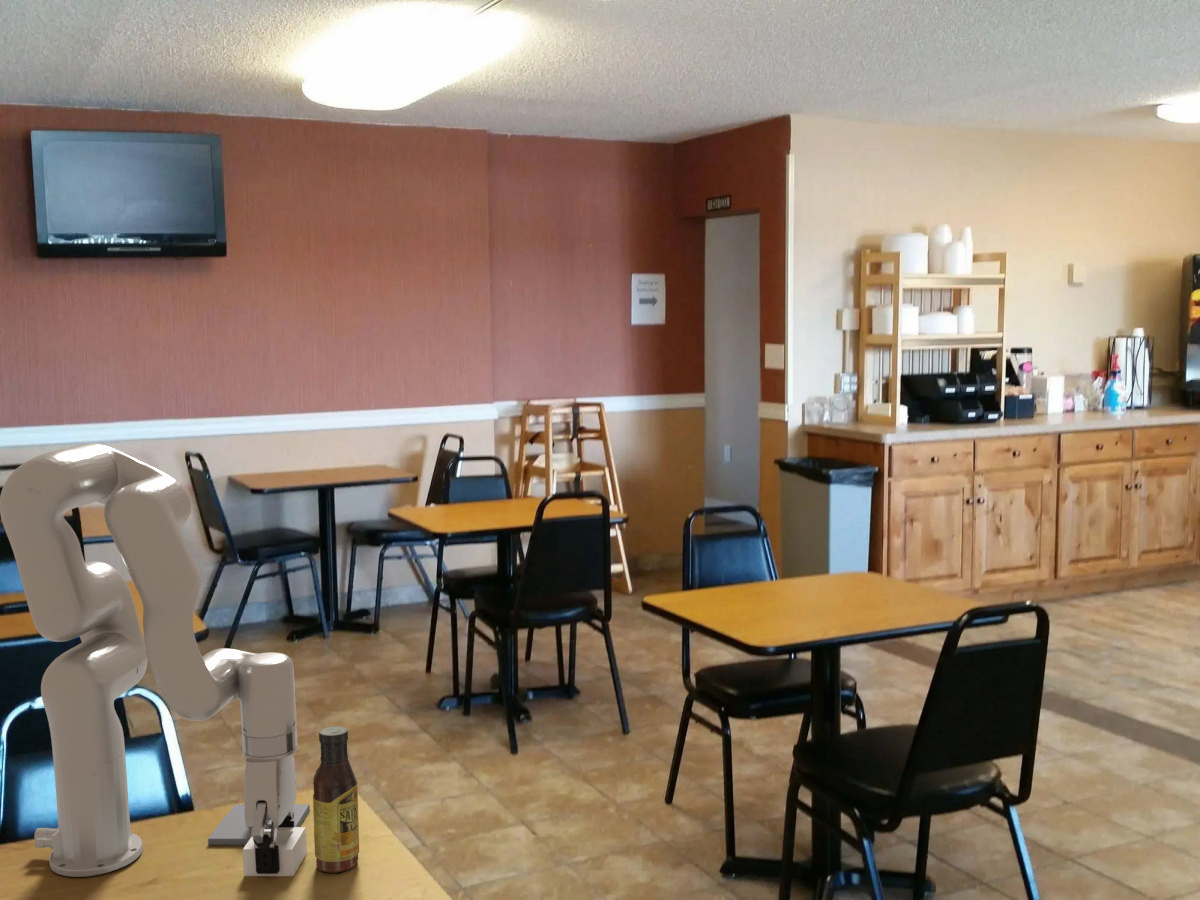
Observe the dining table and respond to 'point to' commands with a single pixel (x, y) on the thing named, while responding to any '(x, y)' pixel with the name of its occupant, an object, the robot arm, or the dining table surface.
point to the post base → (238, 833)
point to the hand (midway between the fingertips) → (276, 858)
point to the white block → (280, 851)
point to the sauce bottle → (335, 804)
